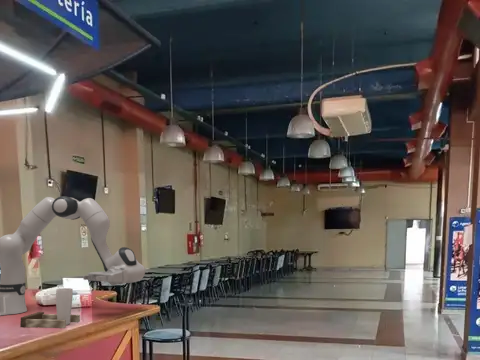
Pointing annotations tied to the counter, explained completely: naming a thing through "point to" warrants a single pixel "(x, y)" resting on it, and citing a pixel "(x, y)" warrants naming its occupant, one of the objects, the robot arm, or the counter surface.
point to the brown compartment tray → (46, 320)
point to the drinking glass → (64, 304)
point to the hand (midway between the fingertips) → (89, 278)
